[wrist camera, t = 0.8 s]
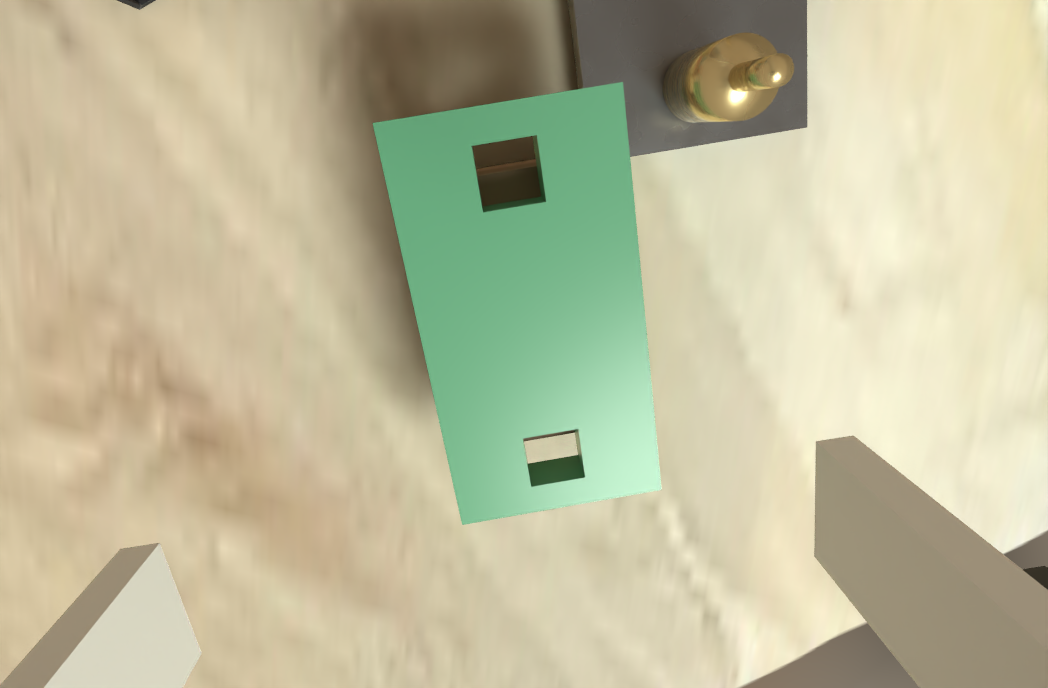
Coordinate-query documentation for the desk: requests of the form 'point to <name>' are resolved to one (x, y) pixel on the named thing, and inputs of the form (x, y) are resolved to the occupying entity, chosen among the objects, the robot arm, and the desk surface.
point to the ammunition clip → (137, 3)
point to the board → (529, 300)
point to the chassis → (696, 66)
